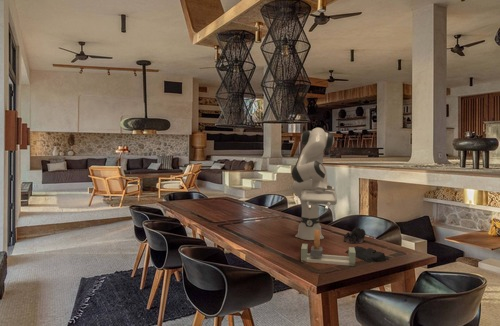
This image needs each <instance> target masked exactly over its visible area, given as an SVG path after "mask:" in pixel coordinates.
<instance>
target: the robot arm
mask: <svg viewBox="0 0 500 326" xmlns="http://www.w3.org/2000/svg"><path fill="white" fill-rule="evenodd" d="M300 141H301V145H302V146H304V147H303V148H302V149H301V151H300V152H299V155H298V157H297V160H296V162H295V165H294V166H293V167H292V170H291V178H292V179H293V182H292V184H291V190H292V192H293V194H295V196H297V198H298V199H299V201H300V204H301V216H300V223H299V224H298V230H297V231H298V232H297V233H296V234H295V236H294V237H295V238H299V239H301V240H304V241H305V240H306V241H314V230H320V240H324V239H325V237H324V235H323V234H322V226H321V224H320V217H319V208H320V206H319V205H326V206H325V208H324V209H325V210H324V211H329V208H330V207H331V206H336V205H337V203H338V198H337V192H336V191H335V187H334V186H333V185H331V184H330V183H329V181H328V173H327V168H326V167H325V166H324V165H323V164H324V163H323V162H324V151H325V152H327V151H328V150H329V149H332V147H333V145H334V143H335V136H334V134H333V133H332V132H326V131H325V130H324V129H323V128H322V127H315V128H313V129H311V130H309V129H308V130H304V131H303V132H302V133H301V135H300Z"/></svg>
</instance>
